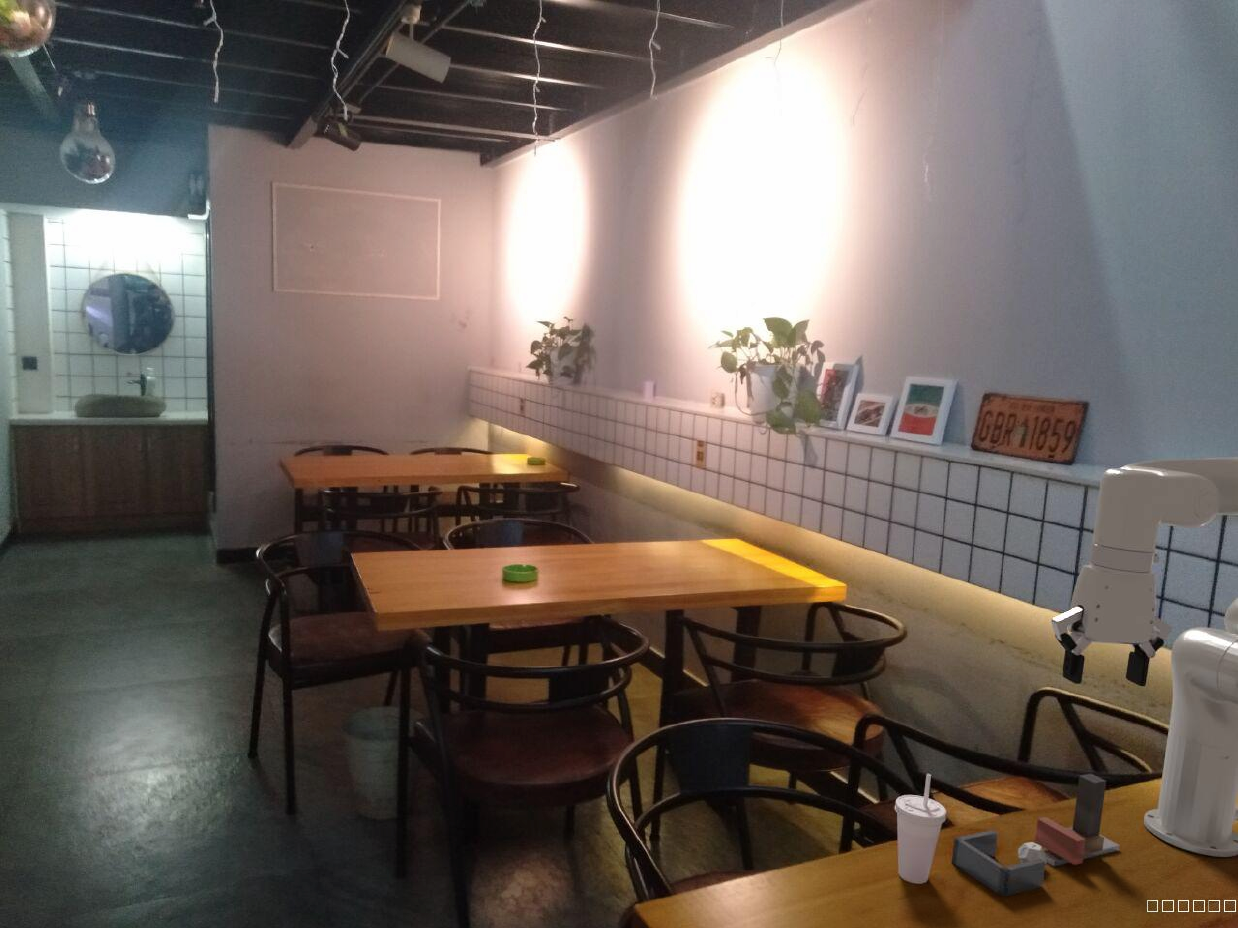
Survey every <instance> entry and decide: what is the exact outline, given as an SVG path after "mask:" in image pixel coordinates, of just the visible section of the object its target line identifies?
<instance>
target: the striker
mask: <svg viewBox="0 0 1238 928" xmlns="http://www.w3.org/2000/svg"><path fill="white" fill-rule="evenodd" d="M1078 777H1079V778H1078V785H1077V792H1076V800H1075V808H1074V815H1073V816H1074V817H1073V822H1072V823H1073V824H1072V826H1071V827H1064V826H1062V825H1060V824H1059V823H1057V822H1056V821H1053V820H1051V819H1050V818H1049V817H1047V816H1046V817H1045V816H1044V817H1040V818H1037V822H1036V830H1035V835H1034V836H1035V838H1034V843H1035V844H1038V845H1040V846H1042V848H1045V849H1046V850H1050V851H1052V852H1053V853H1055V854H1057V855H1058V856H1060V857H1062V858H1064V859H1065V860H1067V861H1069V862H1070V863H1069V864H1072V865H1079V864H1083V861H1084V859H1083V855H1086V854H1090V853H1094V852H1098V851H1102V850H1103V842H1104V837H1105V836H1103V835H1101V834H1100V831H1101V830H1100V829H1101V823H1102V815H1103V807H1104V801H1105V794H1106V785H1107V780H1105V779H1103V778H1101V777H1099V776H1097V775H1095V774H1093V773H1087V774H1083V775H1079V776H1078Z"/></svg>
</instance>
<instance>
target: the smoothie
mask: <svg viewBox="0 0 1238 928" xmlns="http://www.w3.org/2000/svg"><path fill="white" fill-rule="evenodd" d="M931 777H932V774H930V773H927V774H926V777H925V785H924V793H923V796H921V795H916V794H915V795H914V794H904V795H901V796H898V797H897V798H896V800H895V805H894V810H895V812H896V813H897V815H896V817H897V818H896V824H897V830H896V831H897V864H898V865H897V866H898V867H897V868H898V869H897V870H898V875H899V877H900V878H901V879H902V880H904V881H906V882H908V883H912V884H918V885H920V884H921V885H922V884H924V883H927V882H928V879H929V875H930V872H931V868H932V864H933V860H934V856H935V852H936V848H937V844H938V840H939V837H940V833H941V829H942V825H943V823H945V821H946V819H947V818H946V814H947V810H946V807H944V806H943V804H941V803H940V802H938V801H937V800H934V799H932V798H929V796H930V789H931V788H930V787H931Z"/></svg>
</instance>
